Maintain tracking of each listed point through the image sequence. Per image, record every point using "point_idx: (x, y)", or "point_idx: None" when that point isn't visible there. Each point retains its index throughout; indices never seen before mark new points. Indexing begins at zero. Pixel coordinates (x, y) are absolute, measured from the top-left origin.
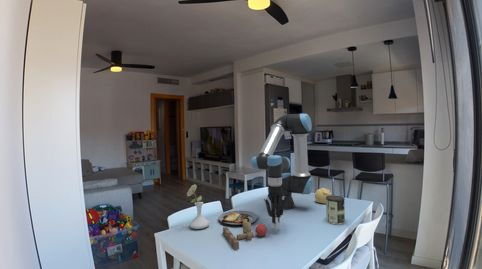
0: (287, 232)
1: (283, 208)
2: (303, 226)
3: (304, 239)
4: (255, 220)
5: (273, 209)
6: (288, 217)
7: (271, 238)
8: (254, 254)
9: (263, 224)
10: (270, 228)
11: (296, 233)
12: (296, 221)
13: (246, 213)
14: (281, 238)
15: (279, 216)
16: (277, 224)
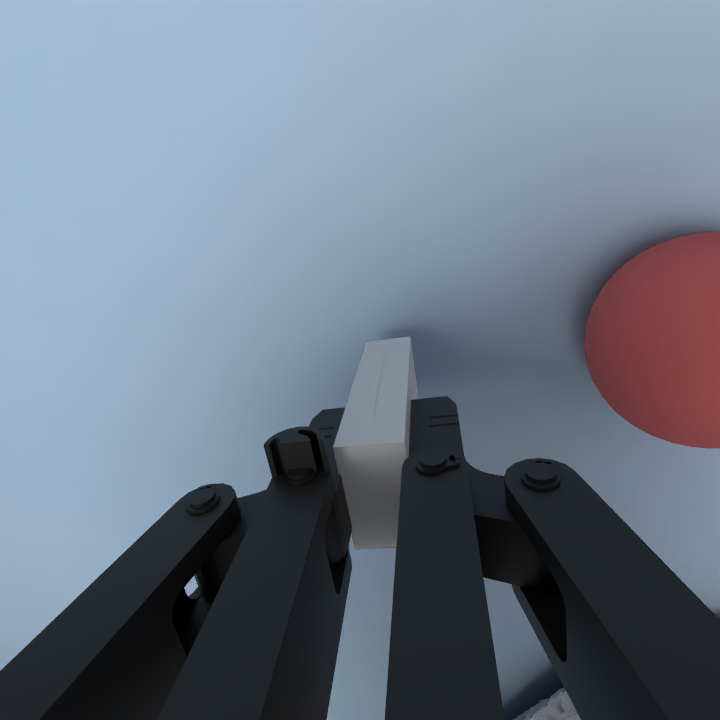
0: (242, 316)
1: (46, 645)
2: (5, 427)
3: (56, 3)
4: (545, 699)
5: (491, 662)
6: None
7: (545, 174)
8: None
9: (696, 385)
10: None
11: (130, 252)
12: (63, 566)
13: None
14: (393, 134)
15: (298, 441)
16: (373, 373)
